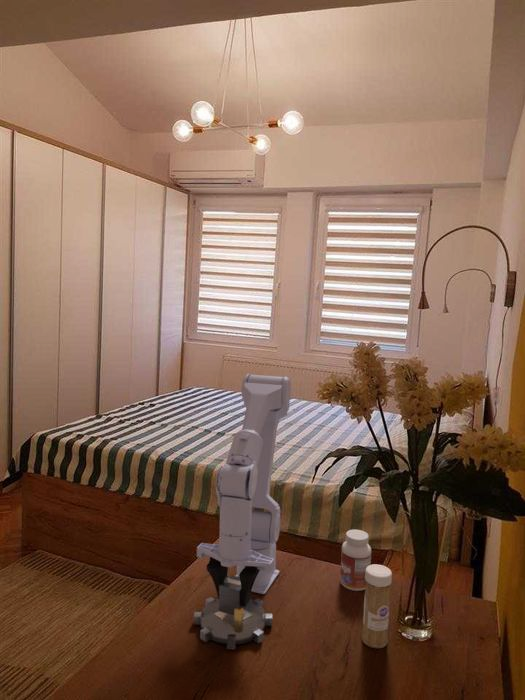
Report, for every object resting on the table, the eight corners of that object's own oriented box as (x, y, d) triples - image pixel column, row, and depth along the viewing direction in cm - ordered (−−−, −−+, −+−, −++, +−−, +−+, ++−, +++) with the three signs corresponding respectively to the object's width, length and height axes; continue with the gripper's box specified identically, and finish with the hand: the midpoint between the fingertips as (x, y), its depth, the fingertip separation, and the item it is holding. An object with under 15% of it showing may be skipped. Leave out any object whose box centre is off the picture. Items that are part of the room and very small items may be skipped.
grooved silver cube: (228, 599, 99) (228, 573, 99) (247, 604, 98) (248, 578, 97) (218, 611, 96) (219, 584, 95) (238, 616, 94) (239, 589, 94)
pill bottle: (335, 577, 115) (338, 528, 113) (362, 574, 116) (364, 526, 115) (346, 593, 109) (348, 542, 107) (374, 590, 110) (377, 540, 109)
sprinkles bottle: (375, 653, 91) (380, 579, 89) (356, 638, 94) (360, 567, 93) (393, 643, 94) (397, 571, 92) (373, 629, 97) (377, 560, 96)
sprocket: (177, 621, 97) (178, 593, 96) (235, 591, 107) (236, 565, 107) (230, 661, 87) (230, 630, 87) (288, 623, 97) (289, 596, 97)
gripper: (189, 531, 94) (188, 602, 96) (264, 547, 89) (262, 622, 90) (207, 515, 101) (205, 582, 102) (278, 530, 95) (276, 600, 97)
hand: (233, 600), depth 97 cm, fingers closed on grooved silver cube, 4 cm apart
